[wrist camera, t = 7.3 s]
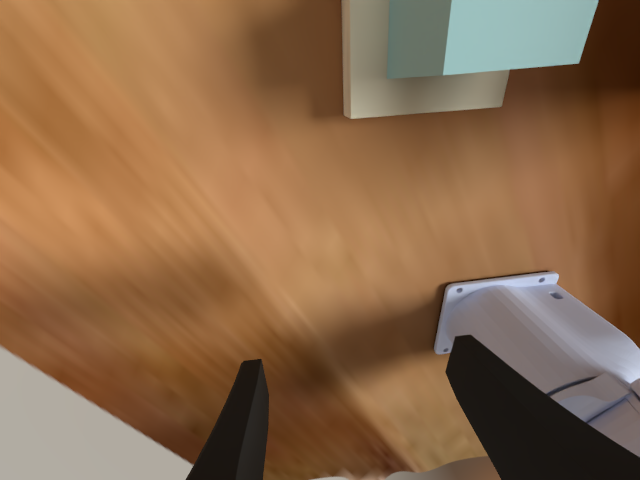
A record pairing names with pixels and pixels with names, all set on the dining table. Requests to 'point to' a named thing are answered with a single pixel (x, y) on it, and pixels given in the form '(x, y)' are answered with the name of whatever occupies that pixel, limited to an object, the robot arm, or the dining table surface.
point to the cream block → (401, 93)
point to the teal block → (484, 35)
